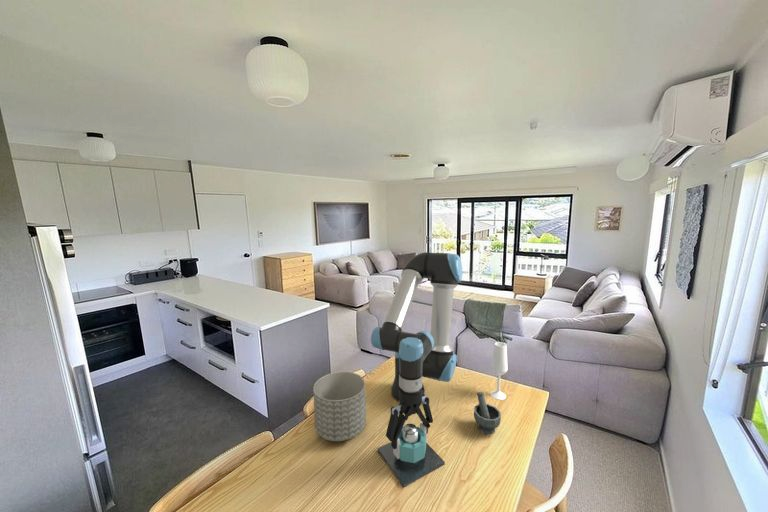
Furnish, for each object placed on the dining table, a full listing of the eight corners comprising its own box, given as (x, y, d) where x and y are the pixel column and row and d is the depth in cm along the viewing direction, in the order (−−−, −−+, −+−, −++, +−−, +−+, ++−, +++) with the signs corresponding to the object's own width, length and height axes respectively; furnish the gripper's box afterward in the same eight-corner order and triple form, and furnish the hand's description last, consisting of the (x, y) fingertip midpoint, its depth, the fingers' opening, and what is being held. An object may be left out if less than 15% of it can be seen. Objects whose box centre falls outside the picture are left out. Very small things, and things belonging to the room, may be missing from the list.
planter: (373, 418, 117) (372, 376, 114) (353, 455, 99) (352, 405, 97) (331, 408, 123) (329, 368, 120) (304, 441, 105) (302, 394, 103)
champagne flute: (507, 393, 133) (510, 343, 129) (504, 401, 127) (507, 349, 124) (492, 389, 136) (494, 339, 133) (488, 396, 131) (490, 345, 127)
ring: (389, 445, 99) (389, 432, 98) (413, 434, 104) (413, 421, 103) (406, 467, 90) (406, 452, 90) (431, 454, 95) (431, 440, 95)
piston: (377, 450, 101) (377, 422, 99) (415, 433, 109) (415, 406, 107) (403, 487, 87) (403, 454, 86) (444, 464, 95) (445, 434, 94)
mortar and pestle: (505, 435, 107) (507, 405, 106) (482, 440, 105) (484, 409, 104) (487, 415, 118) (489, 387, 117) (466, 419, 116) (467, 391, 114)
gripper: (386, 404, 86) (386, 472, 88) (445, 382, 97) (443, 443, 100) (374, 391, 92) (374, 455, 95) (430, 372, 103) (429, 429, 106)
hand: (410, 449), depth 97 cm, fingers closed on ring, 10 cm apart
